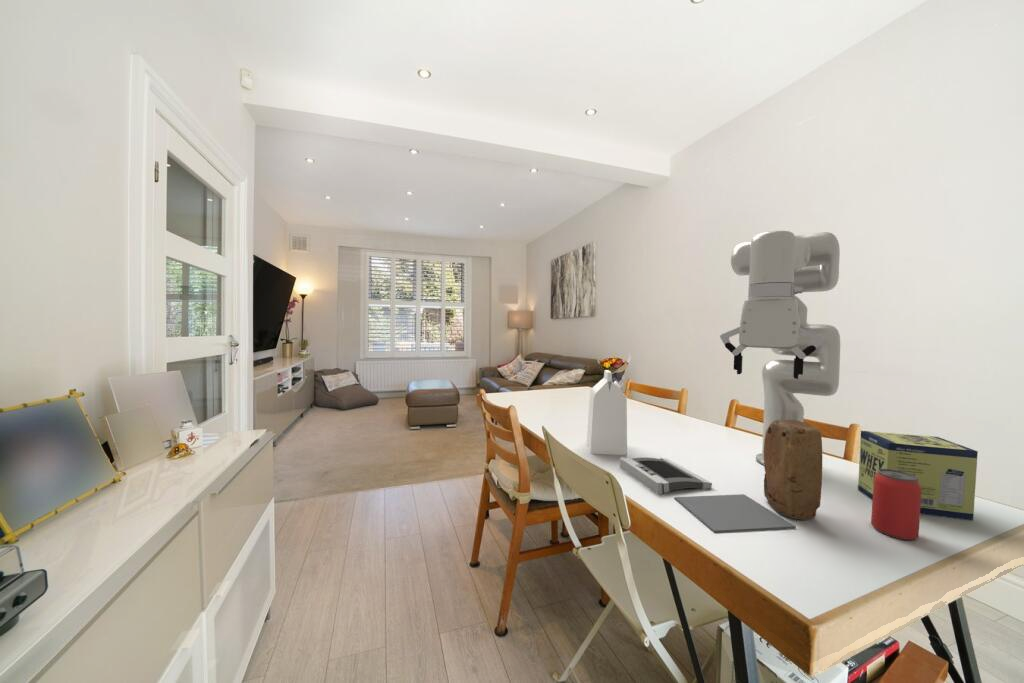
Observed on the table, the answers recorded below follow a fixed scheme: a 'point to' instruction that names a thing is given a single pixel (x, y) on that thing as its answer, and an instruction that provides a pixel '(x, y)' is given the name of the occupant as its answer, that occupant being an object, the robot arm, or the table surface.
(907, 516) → the beer can
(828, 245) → the robot arm
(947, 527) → the table surface
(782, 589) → the table surface
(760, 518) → the mat
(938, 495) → the protein box
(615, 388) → the milk
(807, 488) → the block
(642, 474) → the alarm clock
